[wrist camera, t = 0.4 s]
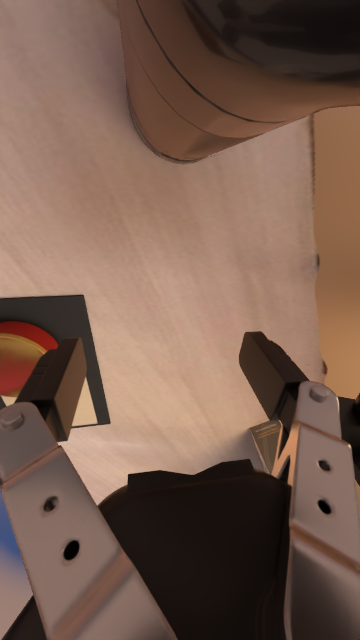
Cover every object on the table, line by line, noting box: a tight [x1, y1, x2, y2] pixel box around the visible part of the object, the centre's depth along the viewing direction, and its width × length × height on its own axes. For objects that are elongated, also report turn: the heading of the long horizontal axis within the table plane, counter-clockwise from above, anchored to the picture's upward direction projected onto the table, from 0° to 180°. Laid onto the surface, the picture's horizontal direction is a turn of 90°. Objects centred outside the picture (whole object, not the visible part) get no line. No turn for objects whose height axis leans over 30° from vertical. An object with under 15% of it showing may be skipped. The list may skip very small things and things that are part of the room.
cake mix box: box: [250, 420, 282, 474], centre depth 40 cm, size 22×6×30 cm, turn 21°
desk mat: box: [0, 295, 110, 428], centre depth 32 cm, size 24×16×1 cm, turn 179°
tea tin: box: [0, 321, 58, 397], centre depth 28 cm, size 9×9×4 cm
